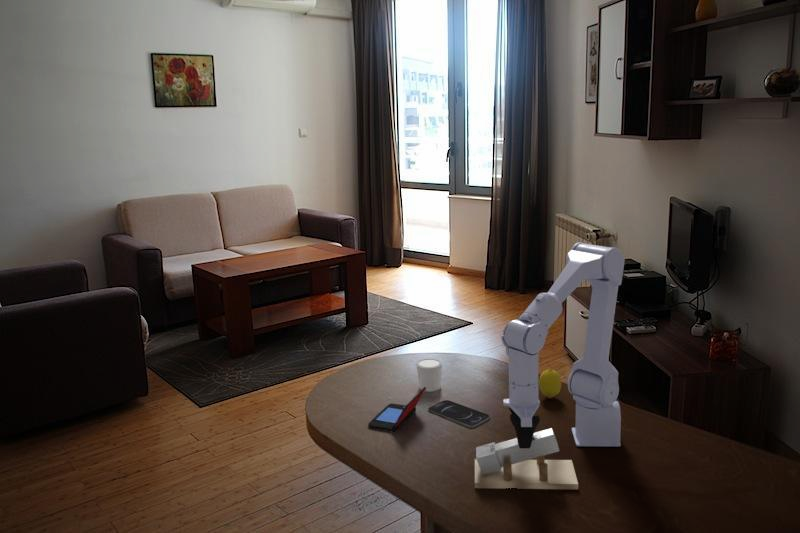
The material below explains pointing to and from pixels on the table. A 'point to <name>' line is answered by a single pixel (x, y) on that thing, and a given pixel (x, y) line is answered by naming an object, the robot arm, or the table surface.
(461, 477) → the table surface
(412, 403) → the handheld game console
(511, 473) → the peg cradle
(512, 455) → the bar
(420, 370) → the white cylinder
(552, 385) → the lemon
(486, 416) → the smartphone
